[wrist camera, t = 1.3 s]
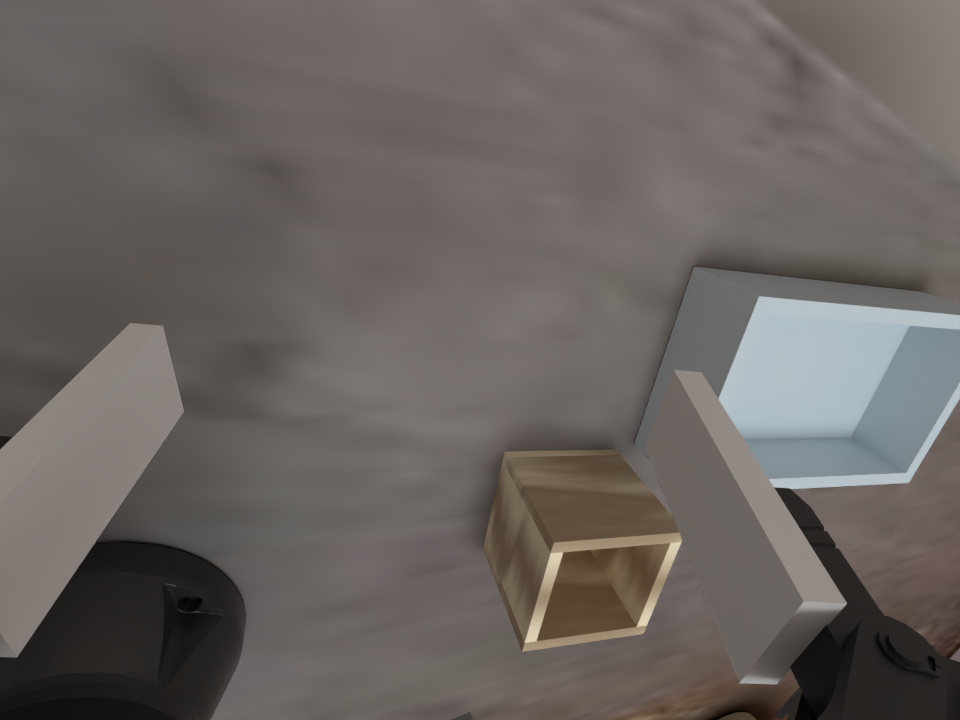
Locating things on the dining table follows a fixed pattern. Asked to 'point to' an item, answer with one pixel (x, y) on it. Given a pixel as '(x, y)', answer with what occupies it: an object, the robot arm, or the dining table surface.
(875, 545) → the dining table surface
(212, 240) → the dining table surface
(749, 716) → the planter bowl
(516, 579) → the birch crate
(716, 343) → the light blue crate
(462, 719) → the alarm clock
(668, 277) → the dining table surface
